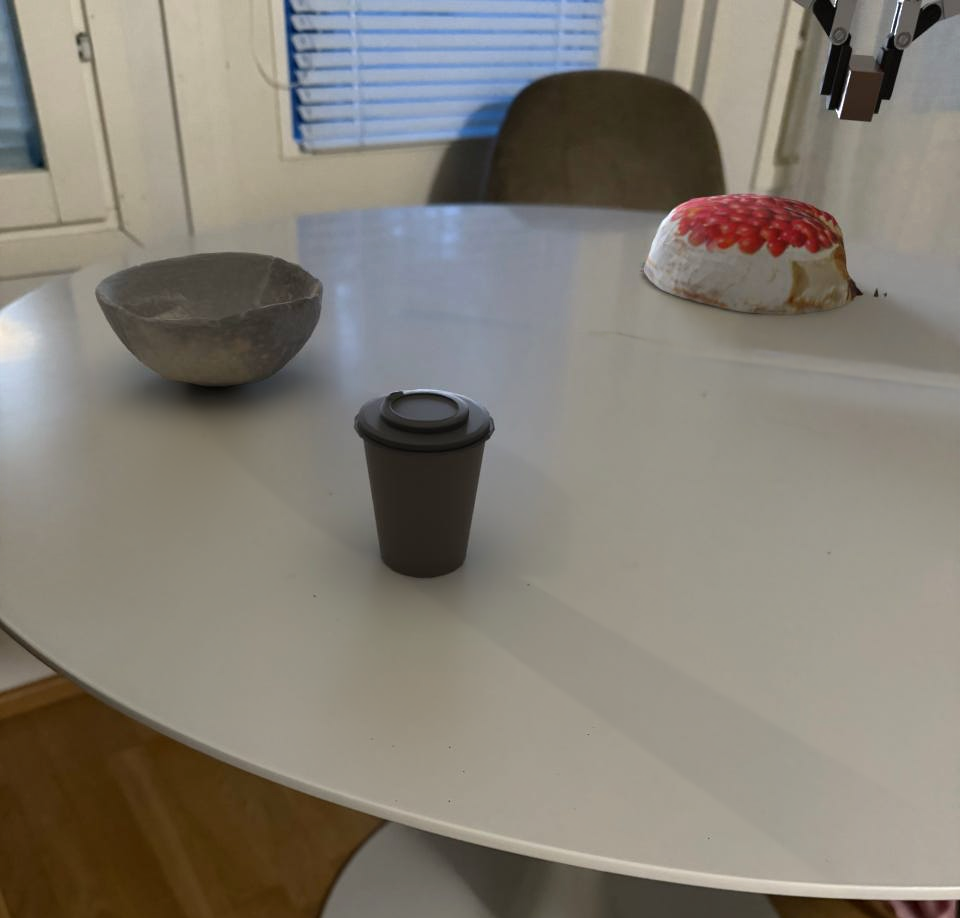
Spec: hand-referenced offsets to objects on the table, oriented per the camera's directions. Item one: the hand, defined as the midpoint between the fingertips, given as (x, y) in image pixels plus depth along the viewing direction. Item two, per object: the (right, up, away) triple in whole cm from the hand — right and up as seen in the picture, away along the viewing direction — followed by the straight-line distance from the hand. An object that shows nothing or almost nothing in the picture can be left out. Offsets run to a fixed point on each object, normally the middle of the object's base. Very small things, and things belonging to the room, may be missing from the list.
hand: (851, 107), depth 70 cm
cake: (+3, -1, +36) cm, 36 cm away
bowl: (-49, -16, +12) cm, 53 cm away
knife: (+1, +2, +3) cm, 4 cm away
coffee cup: (-31, -34, -10) cm, 47 cm away
